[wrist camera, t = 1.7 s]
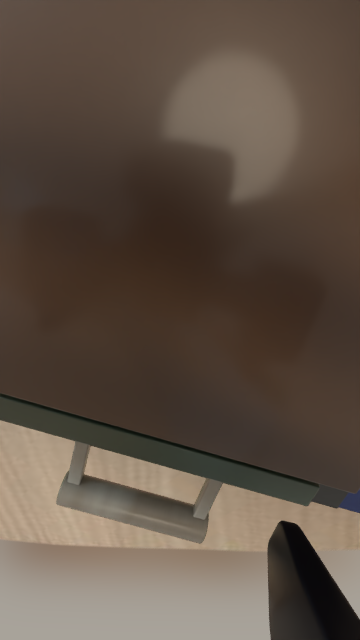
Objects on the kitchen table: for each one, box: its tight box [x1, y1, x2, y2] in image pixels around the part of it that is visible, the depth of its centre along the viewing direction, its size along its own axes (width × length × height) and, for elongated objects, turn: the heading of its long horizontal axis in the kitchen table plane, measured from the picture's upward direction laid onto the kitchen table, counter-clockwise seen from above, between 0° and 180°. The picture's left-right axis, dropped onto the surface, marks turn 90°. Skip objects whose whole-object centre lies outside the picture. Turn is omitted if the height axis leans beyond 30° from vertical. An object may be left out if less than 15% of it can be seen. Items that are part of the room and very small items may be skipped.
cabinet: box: [0, 0, 360, 494], centre depth 13 cm, size 14×15×9 cm
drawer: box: [0, 393, 320, 543], centre depth 16 cm, size 17×13×7 cm
